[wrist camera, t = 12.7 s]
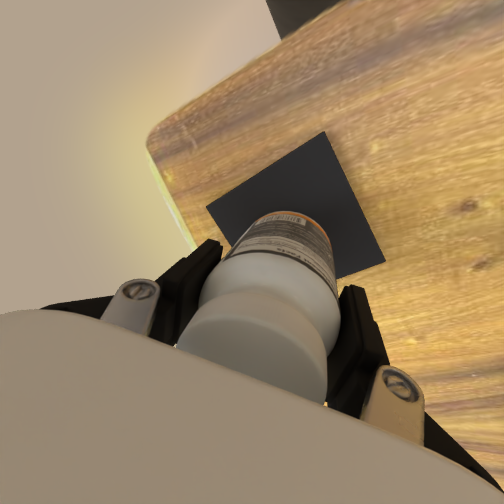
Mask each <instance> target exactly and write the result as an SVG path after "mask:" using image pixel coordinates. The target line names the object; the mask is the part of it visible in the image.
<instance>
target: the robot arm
mask: <svg viewBox="0 0 504 504" xmlns="http://www.w3.org/2000/svg"><path fill="white" fill-rule="evenodd" d="M222 251H223V246H221V245H220V242H218V241H215V240H212V239H207V240H206V241H205V242H204V243H203V244H202V245H200V246H199V247H198V248H197V249H196V250H195V251H193V252H192V253H191V254H190V255H189V256H188V257H187V258H185V257H184V258H182V259H180V260H179V261H178V262H177V263H176V264H175V265H173V266H172V267H171V268H170V269H168V270H167V271H166V272H165V273H164V274H163V275H161V276H160V277H159V278H158V279H157V280H155V281H152V280H148V279H133V280H130V281H127V282H125V283H124V284H122V285H121V286H120V287H119V289H118V290H117V292H116V294H115V295H113V296H106V297H99V298H92V299H85V300H79V301H71V302H64V303H57V304H53V305H48V306H46V307H43V308H41V309H34V310H20V311H13V312H9V313H5V314H1V315H0V504H504V491H503V490H502V489H501V487H500V486H499V484H498V483H497V482H496V481H495V480H494V478H493V477H492V476H491V475H490V474H489V473H488V472H487V471H486V470H485V469H484V468H483V467H482V466H481V465H480V464H479V463H478V462H477V461H476V460H475V459H474V458H473V457H471V456H470V455H469V454H468V453H467V452H466V451H465V450H464V449H463V448H462V447H461V446H460V445H459V444H458V443H457V442H456V441H455V440H454V439H453V438H452V437H451V436H450V435H449V434H448V433H447V432H446V431H445V430H443V429H442V428H441V427H440V426H439V425H438V424H437V423H436V422H435V421H434V420H433V419H432V418H431V417H430V416H429V415H428V414H427V413H426V412H425V411H424V406H425V400H424V394H423V392H422V390H421V388H420V387H419V386H418V384H417V383H416V382H415V381H414V380H413V379H412V378H411V377H410V376H409V375H408V374H406V373H405V372H404V371H402V370H400V369H398V368H396V367H393V366H390V363H389V359H388V356H387V353H386V350H385V347H384V343H383V340H382V337H381V334H380V331H379V327H378V324H377V322H375V321H374V320H373V316H372V313H371V310H370V306H369V303H368V300H367V296H366V293H365V290H364V288H362V287H358V286H355V285H352V284H351V285H350V286H349V287H348V286H345V287H344V289H343V291H342V293H341V295H340V297H339V303H340V310H341V324H340V331H339V335H338V338H337V341H336V344H335V346H334V348H333V350H332V351H331V353H330V354H329V355H328V357H327V393H326V399H325V402H327V405H328V407H326V406H323V405H321V404H318V403H316V402H313V401H311V400H308V399H306V398H303V397H301V396H298V395H296V394H293V393H291V392H288V391H286V390H283V389H281V388H278V387H275V386H273V385H270V384H268V383H265V382H263V381H260V380H258V379H255V378H252V377H250V376H247V375H245V374H242V373H240V372H237V371H234V370H232V369H229V368H227V367H224V366H222V365H219V364H216V363H214V362H211V361H209V360H206V359H204V358H201V357H198V356H196V355H193V354H191V353H188V352H185V351H183V350H180V349H177V348H175V347H173V346H174V345H175V343H176V344H177V342H178V340H179V338H180V336H181V334H182V333H183V331H184V330H185V328H186V327H187V325H188V324H189V322H190V321H191V319H192V318H193V316H194V315H195V313H196V312H197V311H198V305H199V297H200V293H201V290H202V287H203V285H204V283H205V281H206V278H207V277H208V275H209V274H210V273H211V272H212V270H213V269H214V268H215V267H216V266H217V265H218V264H219V262H220V261H221V256H222Z"/></svg>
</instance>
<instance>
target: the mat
mask: <svg viewBox="0 0 504 504" xmlns="http://www.w3.org/2000/svg"><path fill="white" fill-rule="evenodd" d="M206 208H207V210H208V211H209V213H210V214H211V216H212V217H213V219H214V221H215V222H216V224H217V225H218V227H219V228H220V230H221V231H222V233H223V234H224V236H225V238H226V239H227V241H228V242H229V244H230V245H231V247H233V246H234V245H235V244H236V242H237V241H238V239H240V238H241V236H242V235H243V234H244V233H245V232H246V231H247V230H248V229H249V228H250V227H251V226H252V224H253V223H254V222H256V221H257V220H258V219H260V218H261V217H263V216H265V215H267V214H270V213H273V212H279V211H291V212H297V213H300V214H303V215H305V216H307V217H309V218H311V219H312V220H314V221H315V222H316V223H317V224H319V225H320V226H321V228H322V229H323V230H324V231H325V233H326V235H327V237H328V239H329V241H330V244H331V248H332V253H333V259H334V265H335V275H336V279H339V278H342V277H345V276H347V275H350V274H353V273H356V272H358V271H361V270H364V269H367V268H369V267H372V266H375V265H378V264H380V263H383V262H386V260H385V258H384V256H383V254H382V252H381V250H380V248H379V245H378V243H377V241H376V239H375V237H374V235H373V233H372V231H371V229H370V227H369V224H368V222H367V220H366V218H365V216H364V214H363V212H362V210H361V208H360V206H359V203H358V201H357V199H356V197H355V195H354V193H353V191H352V189H351V187H350V184H349V182H348V180H347V178H346V176H345V174H344V172H343V170H342V168H341V166H340V163H339V161H338V159H337V157H336V155H335V153H334V151H333V149H332V147H331V145H330V142H329V140H328V138H327V136H326V134H325V132H322V133H320V134H319V135H317V136H316V137H314V138H313V139H311V140H309V141H308V142H306V143H305V144H303V145H302V146H300V147H298V148H297V149H295V150H294V151H292V152H291V153H289V154H288V155H286V156H284V157H283V158H281V159H280V160H278V161H277V162H275V163H273V164H272V165H270V166H269V167H267V168H266V169H264V170H262V171H261V172H259V173H258V174H256V175H255V176H253V177H251V178H250V179H248V180H247V181H245V182H244V183H242V184H241V185H239V186H237V187H236V188H234V189H233V190H231V191H230V192H228V193H226V194H225V195H223V196H222V197H220V198H219V199H217V200H215V201H214V202H212V203H211V204H209V205H208V206H206Z"/></svg>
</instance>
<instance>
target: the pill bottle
mask: <svg viewBox="0 0 504 504" xmlns="http://www.w3.org/2000/svg"><path fill="white" fill-rule="evenodd" d="M340 324H341V310H340V303H339V298H338V292H337V283H336V275H335V265H334V259H333V253H332V248H331V244H330V241H329V239H328V237H327V235H326V233H325V231H324V230H323V229H322V228H321V226H320V225H319V224H317V223H316V222H315V221H314V220H312V219H311V218H309V217H307V216H305V215H303V214H300V213H297V212H291V211H279V212H273V213H270V214H267V215H265V216H263V217H261V218H260V219H258V220H257V221H256V222H254V223H253V224H252V226H251V227H250V228H249V229H248V230H247V231H246V232H245V233H244V234H243V235H242V236H241V238H240V239H238V241H237V242H236V244H235V245H234V246H233V247H232V248H231V250H230V251H229V252H228V253H227V255H226V256H225V257H224V258H222V259H221V261H220V262H219V264H218V265H217V266H216V267H215V268H214V269H213V270H212V272H211V273H210V274H209V275H208V277H207V278H206V281H205V283H204V285H203V287H202V290H201V293H200V297H199V305H198V311H197V312H196V313H195V315H194V316H193V318H192V319H191V321H190V322H189V324H188V325H187V327H186V328H185V330H184V331H183V333H182V334H181V336H180V338H179V340H178V342H177V345H176V348H177V349H180V350H183V351H185V352H188V353H191V354H193V355H196V356H198V357H201V358H204V359H206V360H209V361H211V362H214V363H216V364H219V365H222V366H224V367H227V368H229V369H232V370H234V371H237V372H240V373H242V374H245V375H247V376H250V377H252V378H255V379H258V380H260V381H263V382H265V383H268V384H270V385H273V386H275V387H278V388H281V389H283V390H286V391H288V392H291V393H293V394H296V395H298V396H301V397H303V398H306V399H308V400H311V401H313V402H316V403H318V404H321V405H324V402H325V399H326V393H327V357H328V355H329V354H330V353H331V351H332V350H333V348H334V346H335V344H336V341H337V338H338V335H339V331H340Z"/></svg>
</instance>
